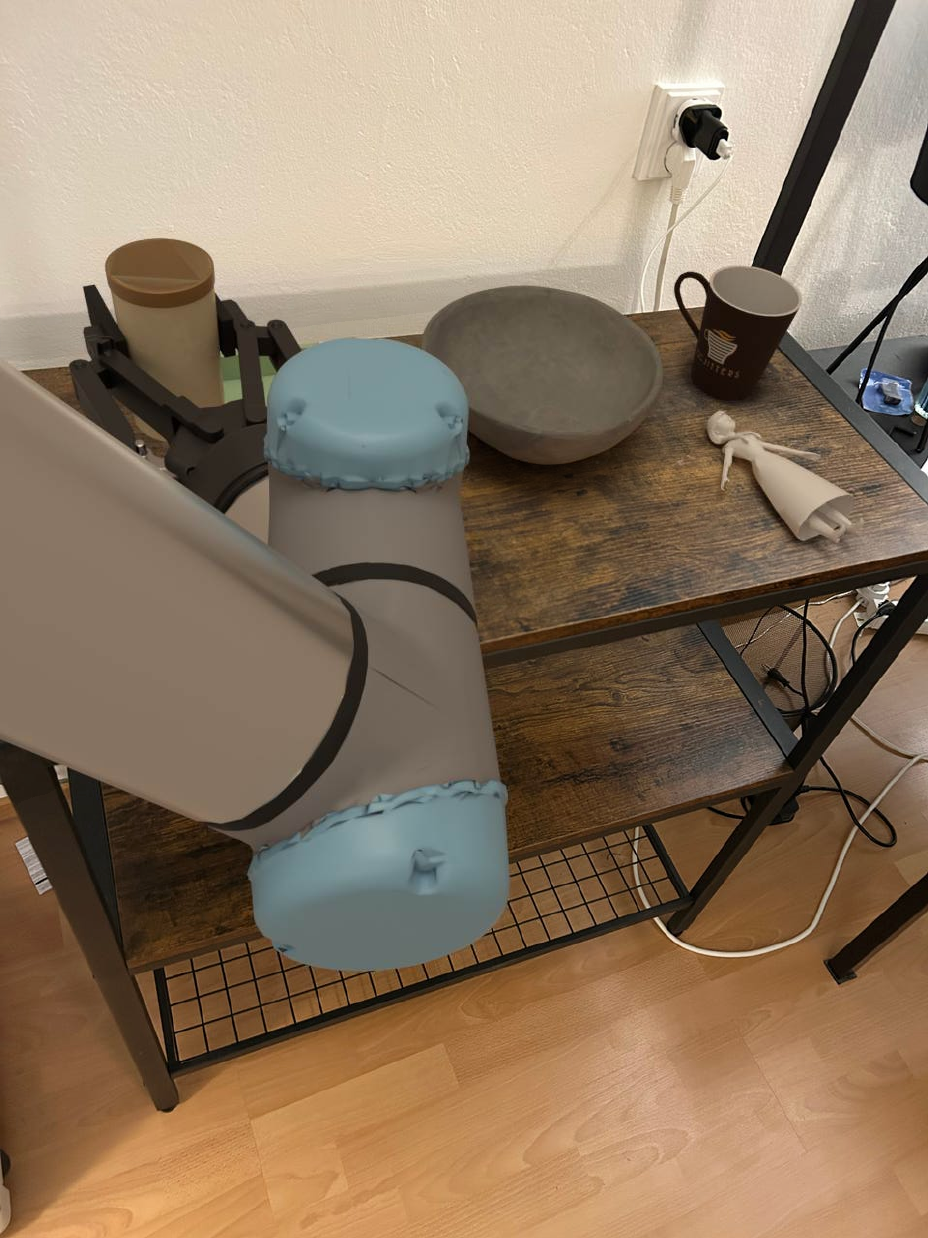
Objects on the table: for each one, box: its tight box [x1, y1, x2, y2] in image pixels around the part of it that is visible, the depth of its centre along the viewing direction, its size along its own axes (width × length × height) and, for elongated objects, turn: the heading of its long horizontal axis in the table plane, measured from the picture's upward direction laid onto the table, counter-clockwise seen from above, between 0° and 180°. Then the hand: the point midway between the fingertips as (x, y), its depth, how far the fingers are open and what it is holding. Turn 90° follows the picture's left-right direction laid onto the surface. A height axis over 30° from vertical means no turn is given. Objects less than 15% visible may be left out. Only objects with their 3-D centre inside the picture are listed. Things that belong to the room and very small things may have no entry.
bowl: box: [420, 285, 664, 465], centre depth 86 cm, size 21×21×8 cm
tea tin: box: [104, 237, 225, 443], centre depth 61 cm, size 6×6×11 cm
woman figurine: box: [706, 410, 866, 544], centre depth 85 cm, size 12×4×18 cm
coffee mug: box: [673, 264, 803, 401], centre depth 94 cm, size 12×9×10 cm
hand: (144, 295), depth 64 cm, fingers closed on tea tin, 6 cm apart
